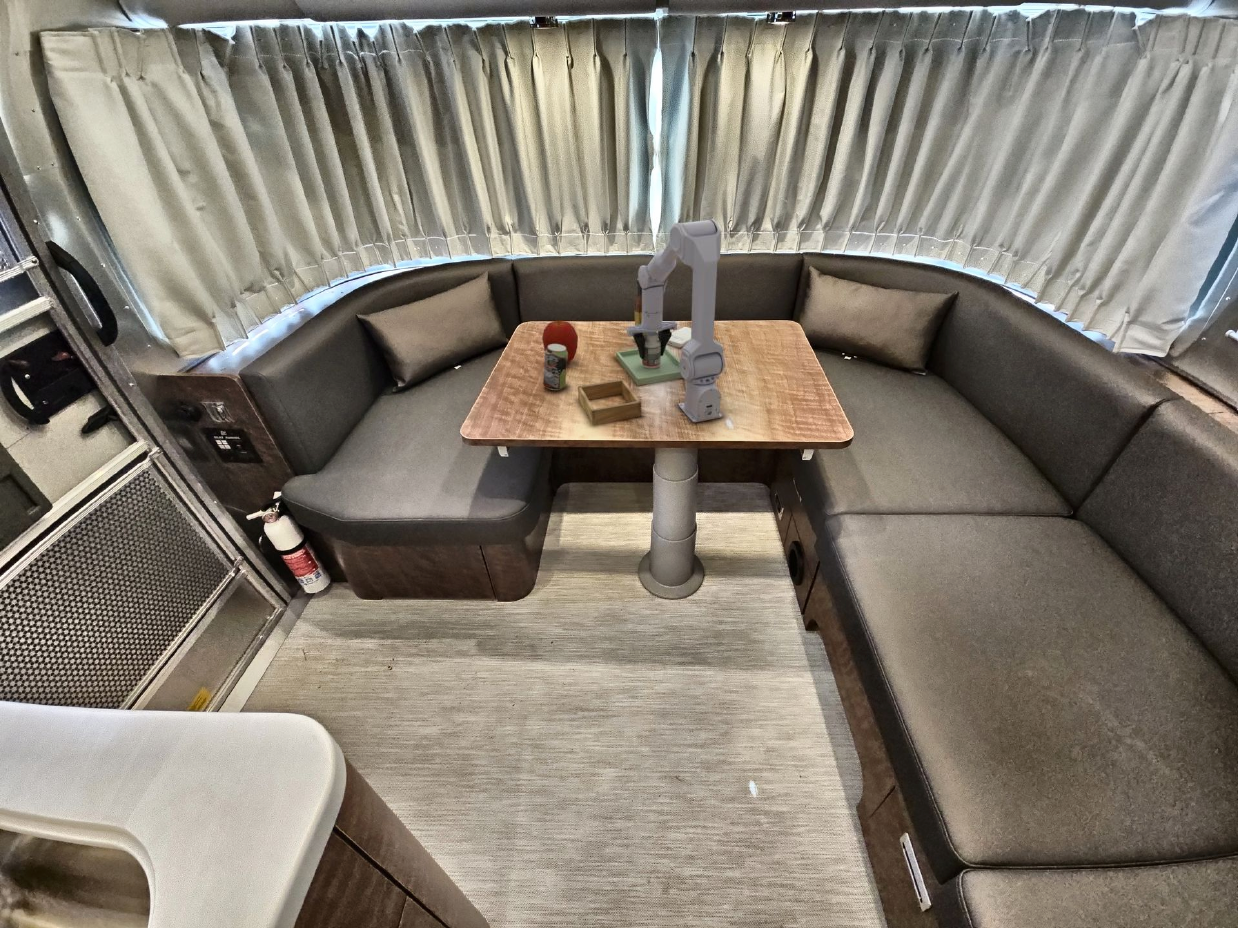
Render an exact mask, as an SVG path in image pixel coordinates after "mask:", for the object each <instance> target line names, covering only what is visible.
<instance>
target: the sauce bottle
mask: <svg viewBox="0 0 1238 928" xmlns="http://www.w3.org/2000/svg"><path fill="white" fill-rule="evenodd" d="M636 285H637V295H636V297H635V300H634V310H633V311H634V326H636V325H639V324H642V288H641V286H640V284H639V279H638V278H637V279H636ZM643 335H644V334H643Z"/></svg>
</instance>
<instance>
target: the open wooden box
mask: <svg viewBox="0 0 1238 928" xmlns="http://www.w3.org/2000/svg"><path fill="white" fill-rule="evenodd" d="M577 395H578V401H579V403H580V406H581V407H582V408H583V410H584V412H585V414H586V416H587V418H588V419H589V421H590V423H591V425H592V426H596V425H601V424H606V423H611V422H617V421H623V420H627V419H634V418H638V417H642V401H641V400H640V399H639V398H638V396H637V395H636V393H635V392H634V391H633V390H632V388H631V387H630V385H629V384H628V383H627V381H626V380H625V379H624V378H621V379H617V380H616V379H614V380H609V381H602V382H598V383H591V384H586V385H580V386H577ZM619 395H622V396H623V398H624V399H625V401H626V403H621V404H620V403H619V404H614V405H608V406H603V407H598V408H595V407H594V406H593V405H592V403H591V401H590V400H595V399H601V398H607V397H612V396H619Z"/></svg>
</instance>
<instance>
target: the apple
mask: <svg viewBox="0 0 1238 928" xmlns="http://www.w3.org/2000/svg"><path fill="white" fill-rule="evenodd" d="M541 339H542V344H543V349H544V351H545V350H546V349H547V348H548V345H550V344H560V345H563V346H565V347H566V350H567V352H568V359H567V365H568V364H569V363H571V362H572V361H574V359H575V357H576V354H577V350H578V345H579V343H578V342H579V336H578V333H577V331H576V329H575V327H574V325H572V324H571V323H570V322H569V321H564V320H559V319H557V320H553V321H551V322H548V324H547V325H546V326H545V327H544V328H543V333H542V337H541Z"/></svg>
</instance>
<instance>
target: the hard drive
mask: <svg viewBox="0 0 1238 928" xmlns="http://www.w3.org/2000/svg"><path fill="white" fill-rule="evenodd" d="M671 333H672V336H671V338H670V339H669V341H668V343H667V345H669V346H672V347H675V348H679V349H680V348H681V349H682V348H683V347H684V346H685V345H686V344H687V343H688V342H689V340H690V339H691V327H689V326H682V327H681V328H679V329H677V330H673V332H672V331H671Z"/></svg>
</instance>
